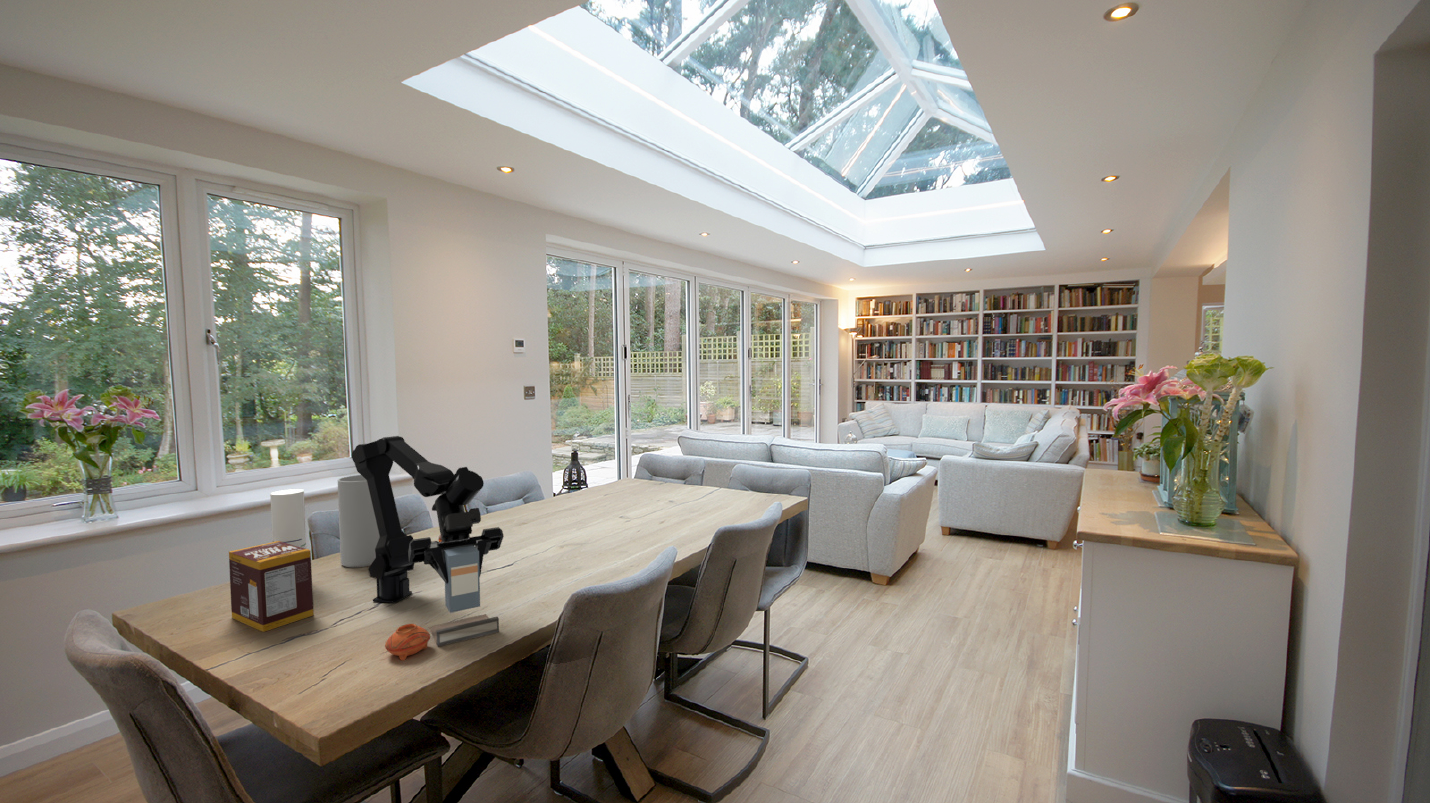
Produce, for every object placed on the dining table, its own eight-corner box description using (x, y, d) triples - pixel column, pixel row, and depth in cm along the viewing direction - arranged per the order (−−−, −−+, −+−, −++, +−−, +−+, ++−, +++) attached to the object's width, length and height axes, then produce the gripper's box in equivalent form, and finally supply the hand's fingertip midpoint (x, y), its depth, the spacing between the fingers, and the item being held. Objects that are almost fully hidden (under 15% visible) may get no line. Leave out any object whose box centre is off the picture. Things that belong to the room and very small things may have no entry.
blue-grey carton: (445, 604, 128) (444, 549, 128) (474, 598, 132) (473, 545, 131) (450, 613, 124) (448, 556, 123) (480, 606, 128) (479, 551, 127)
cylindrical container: (268, 588, 155) (263, 493, 154) (296, 579, 162) (292, 488, 161) (286, 592, 153) (282, 495, 151) (314, 583, 159) (310, 490, 158)
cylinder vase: (374, 568, 171) (371, 481, 170) (330, 568, 171) (327, 481, 170) (397, 554, 184) (395, 473, 182) (357, 554, 184) (354, 474, 182)
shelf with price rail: (428, 631, 130) (428, 613, 130) (486, 618, 137) (485, 601, 136) (438, 651, 121) (437, 632, 120) (499, 636, 127) (498, 618, 127)
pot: (429, 661, 116) (418, 630, 115) (386, 675, 114) (375, 643, 113) (438, 642, 124) (429, 612, 123) (398, 654, 122) (388, 624, 121)
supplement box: (281, 602, 146) (278, 539, 146) (314, 615, 139) (311, 549, 138) (230, 617, 137) (227, 551, 137) (262, 632, 130) (259, 561, 129)
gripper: (408, 502, 125) (418, 568, 116) (500, 491, 135) (515, 552, 127) (404, 530, 132) (413, 595, 123) (492, 518, 142) (505, 577, 134)
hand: (463, 579), depth 127 cm, fingers closed on blue-grey carton, 6 cm apart
